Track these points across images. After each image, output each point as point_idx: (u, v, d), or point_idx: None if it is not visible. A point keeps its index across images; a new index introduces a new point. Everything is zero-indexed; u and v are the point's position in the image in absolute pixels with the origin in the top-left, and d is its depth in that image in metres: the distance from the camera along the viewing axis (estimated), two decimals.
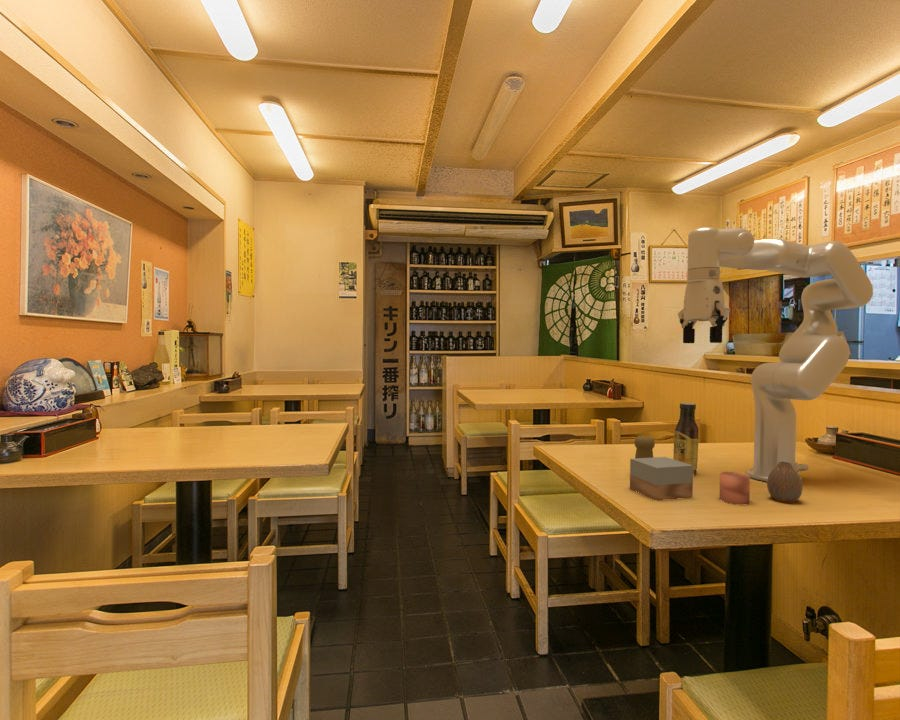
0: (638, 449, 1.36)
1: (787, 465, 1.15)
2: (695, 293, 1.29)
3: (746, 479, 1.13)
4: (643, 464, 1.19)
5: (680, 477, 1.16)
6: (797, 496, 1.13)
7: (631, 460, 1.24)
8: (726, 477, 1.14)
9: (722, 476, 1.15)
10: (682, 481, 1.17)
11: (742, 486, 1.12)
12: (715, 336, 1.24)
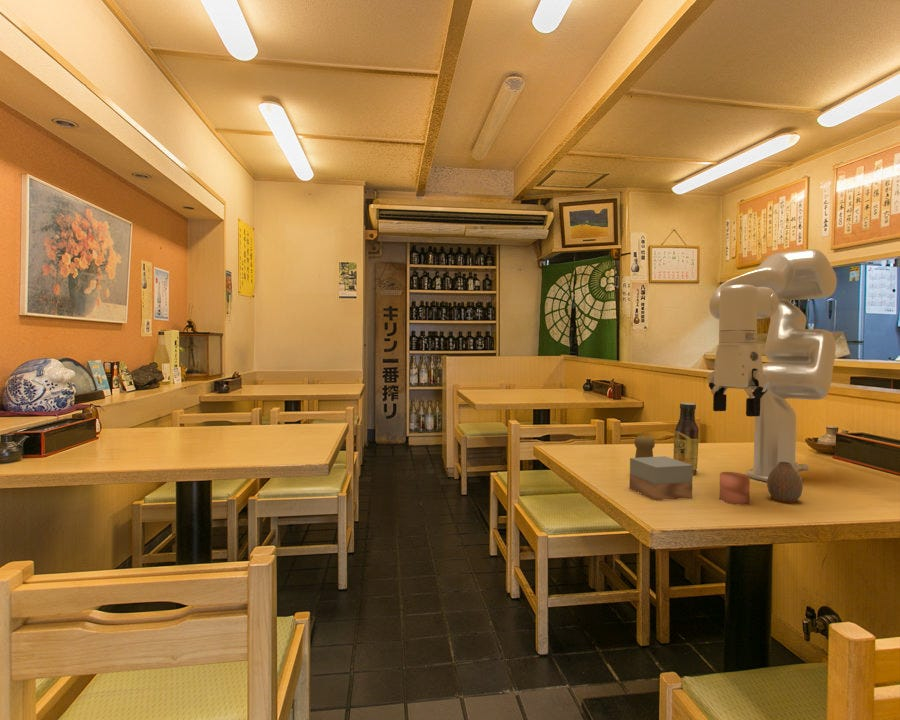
0: (638, 449, 1.36)
1: (787, 465, 1.15)
2: (728, 358, 1.14)
3: (746, 479, 1.13)
4: (642, 463, 1.20)
5: (679, 476, 1.17)
6: (797, 496, 1.13)
7: (631, 459, 1.24)
8: (726, 477, 1.14)
9: (722, 476, 1.15)
10: (681, 481, 1.17)
11: (742, 486, 1.12)
12: (752, 409, 1.09)
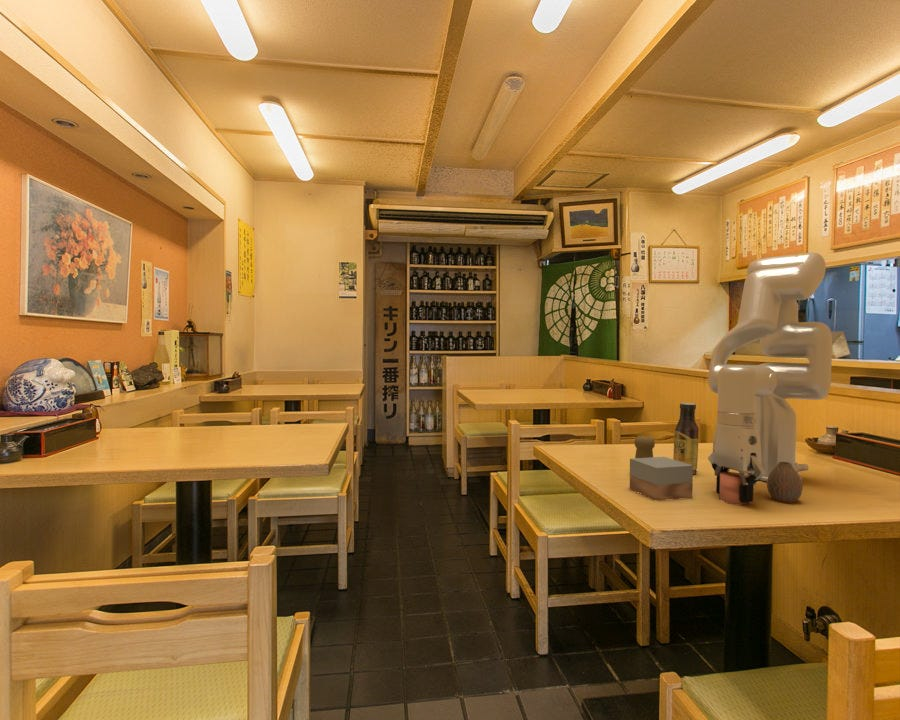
0: (638, 449, 1.36)
1: (787, 465, 1.15)
2: (727, 439, 1.14)
3: None
4: (643, 464, 1.19)
5: (679, 477, 1.17)
6: (797, 496, 1.13)
7: (631, 459, 1.24)
8: (726, 477, 1.14)
9: (722, 476, 1.15)
10: (682, 481, 1.17)
11: None
12: (746, 496, 1.11)
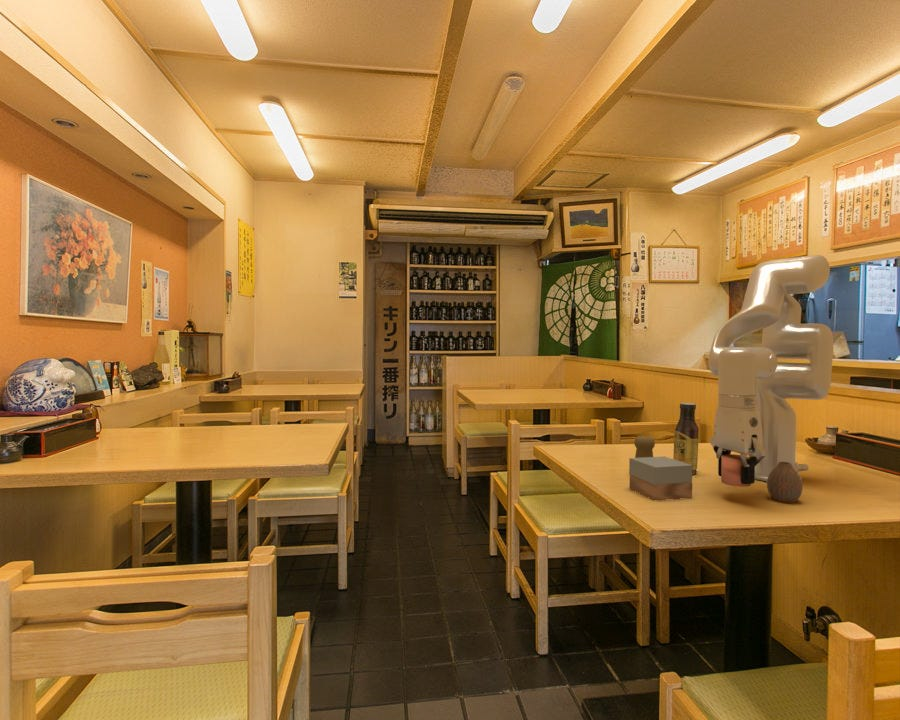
0: (638, 449, 1.36)
1: (787, 465, 1.15)
2: (728, 421, 1.14)
3: None
4: (642, 463, 1.19)
5: (678, 476, 1.16)
6: (797, 496, 1.13)
7: (630, 459, 1.24)
8: (727, 459, 1.14)
9: (723, 458, 1.15)
10: (681, 481, 1.17)
11: None
12: (747, 477, 1.12)
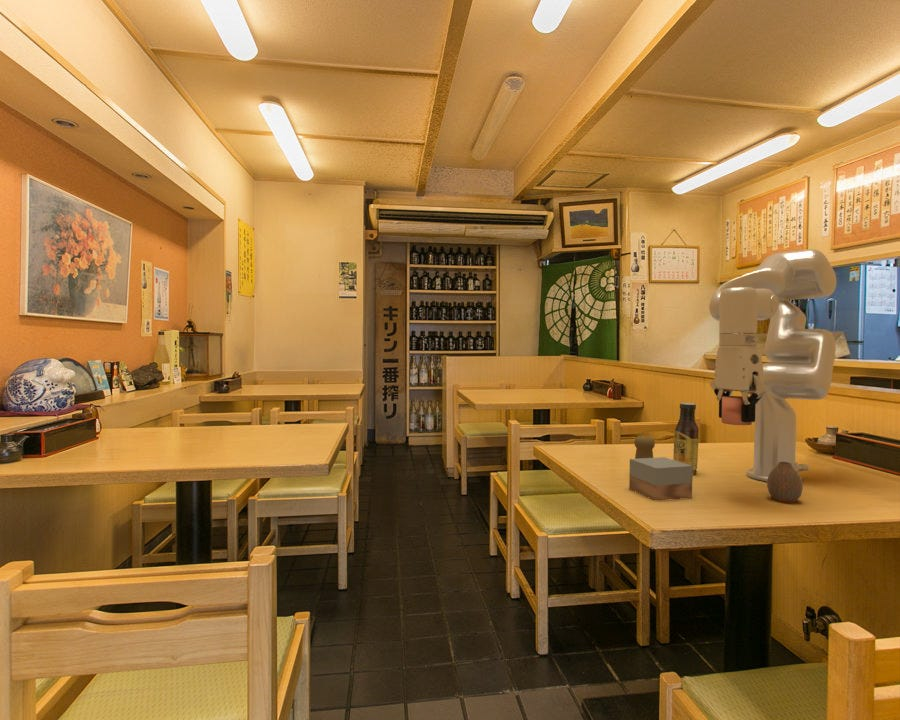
0: (638, 449, 1.36)
1: (787, 465, 1.15)
2: (729, 360, 1.14)
3: None
4: (642, 464, 1.19)
5: (679, 477, 1.16)
6: (797, 496, 1.13)
7: (631, 460, 1.24)
8: (728, 399, 1.14)
9: (724, 398, 1.15)
10: (681, 481, 1.17)
11: None
12: (748, 415, 1.11)
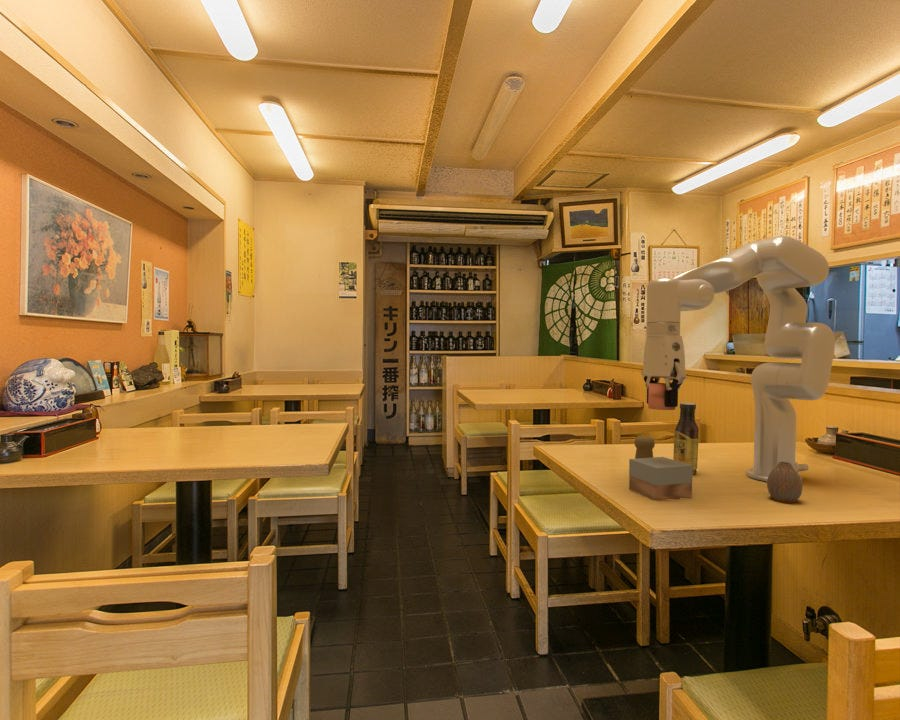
0: (638, 449, 1.36)
1: (787, 465, 1.15)
2: (654, 348, 1.20)
3: None
4: (643, 464, 1.19)
5: (679, 477, 1.16)
6: (797, 496, 1.13)
7: (630, 460, 1.23)
8: (653, 385, 1.19)
9: (650, 384, 1.20)
10: (682, 481, 1.16)
11: None
12: (670, 400, 1.17)
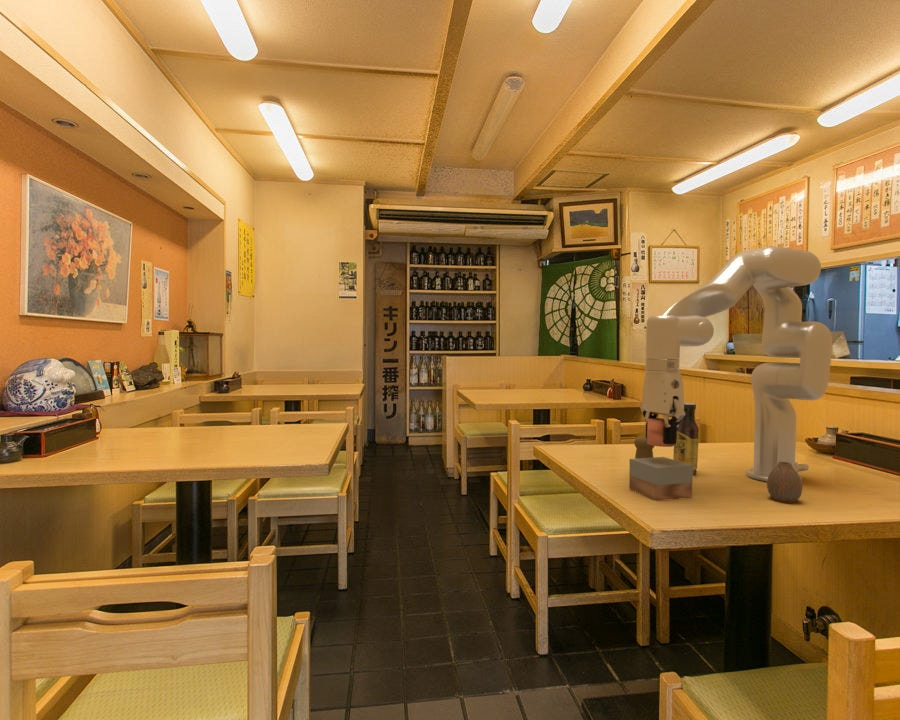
0: (638, 449, 1.36)
1: (787, 465, 1.15)
2: (653, 385, 1.20)
3: None
4: (643, 464, 1.19)
5: (679, 477, 1.16)
6: (797, 496, 1.13)
7: (630, 460, 1.24)
8: (652, 421, 1.19)
9: (649, 420, 1.20)
10: (682, 481, 1.17)
11: None
12: (669, 437, 1.17)
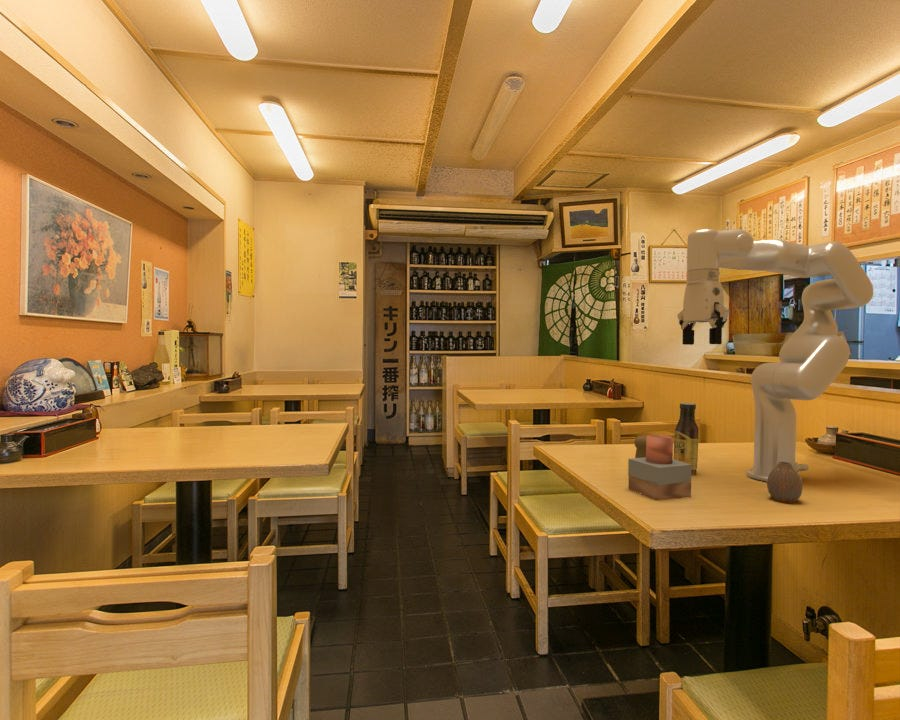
0: (638, 449, 1.36)
1: (787, 465, 1.15)
2: (694, 294, 1.29)
3: (670, 440, 1.19)
4: (643, 464, 1.19)
5: (679, 476, 1.17)
6: (797, 496, 1.13)
7: (630, 460, 1.24)
8: (652, 438, 1.20)
9: (648, 438, 1.21)
10: (681, 480, 1.17)
11: (666, 446, 1.18)
12: (715, 337, 1.24)
